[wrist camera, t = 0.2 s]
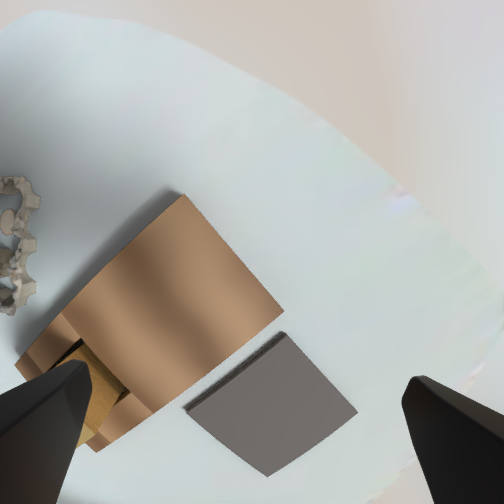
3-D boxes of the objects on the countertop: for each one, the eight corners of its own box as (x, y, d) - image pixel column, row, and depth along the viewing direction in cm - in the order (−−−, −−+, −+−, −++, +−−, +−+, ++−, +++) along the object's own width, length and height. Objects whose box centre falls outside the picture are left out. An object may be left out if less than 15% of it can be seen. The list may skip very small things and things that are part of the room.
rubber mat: (266, 473, 23) (267, 477, 23) (187, 409, 23) (186, 413, 22) (355, 409, 24) (358, 412, 23) (285, 333, 23) (287, 335, 22)
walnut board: (102, 440, 22) (96, 452, 20) (25, 357, 21) (14, 364, 19) (279, 304, 23) (284, 311, 21) (187, 197, 22) (183, 193, 20)
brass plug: (97, 405, 22) (60, 459, 14) (61, 366, 21) (12, 409, 14) (129, 379, 22) (95, 434, 14) (91, 337, 22) (41, 378, 14)
